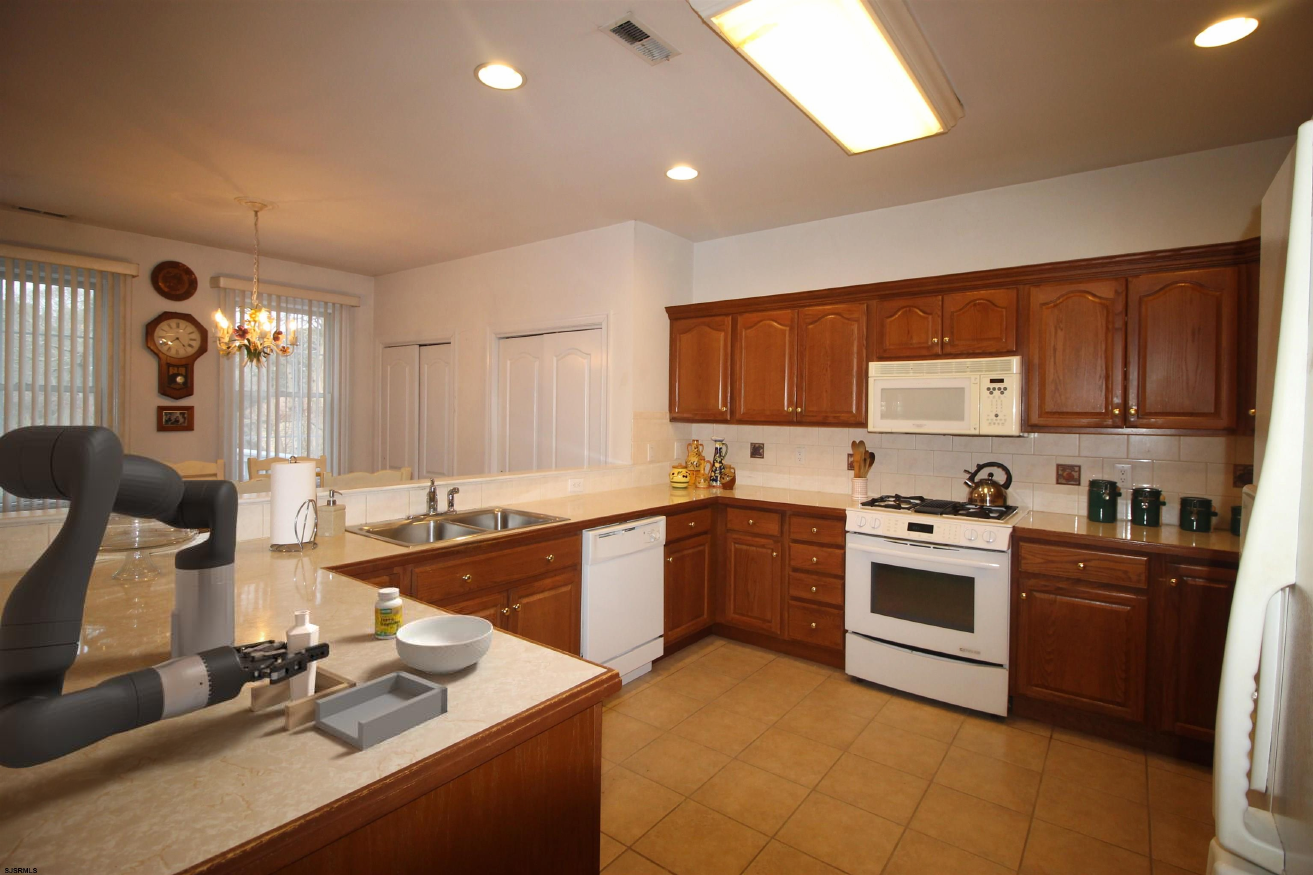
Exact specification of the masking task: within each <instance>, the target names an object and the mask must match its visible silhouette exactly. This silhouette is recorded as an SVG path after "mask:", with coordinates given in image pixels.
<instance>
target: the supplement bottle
mask: <svg viewBox="0 0 1313 875" xmlns="http://www.w3.org/2000/svg"><path fill="white" fill-rule="evenodd" d="M399 596H400V589H399V588H396V587H384V588H382V589H381V588H380V589H379V590H378V592H377V597H378V600H376V601H375V603H374V637H375V638H376V639H379V640H390V639H391V640H393V639H396V633H397V631H398V630H399V629H400V628H401V627H403V626H404V625H403V624H404V623H403V600H402V599H401V598H400V597H399Z"/></svg>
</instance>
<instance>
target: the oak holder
mask: <svg viewBox="0 0 1313 875" xmlns="http://www.w3.org/2000/svg"><path fill="white" fill-rule="evenodd" d="M355 686H358V684H357V681H354V680H352V679H350V678H347V677H345V676H343V675H341V674H340V675H339V674H337V673H336V672H332V671H331V670H328V669H325V668H323V667H321V666H318V665H316V675H315V688H314V694H313V695H310V696H308V697H305V698H302V699H299V700H296V701H294V702H291V703H290V702H288V703H285V704H284V729H285V730H288V731H291V730H294V729H297V728H299V727H302V726H304V725H306V724H310V723H312V722H315V705H316V701H317V700H320V699H323V698H325V697H328V696H331V695H334V694H336V693H339V692H342V691H345V690H347V689H350V688H353V687H355ZM315 692H316V693H315ZM286 701H291V691H290V678H289V679H287V680H285V681H283V682H280V683H278V684H276V685H270V680H269V681H266V682H264V683H261V684H258V685H254V686H252V687H250V710H251V711H252V712H258V711H261V710H263V709H267V708H270V707H272V706H275V705H278V704H281V703H283V702H286Z"/></svg>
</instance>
